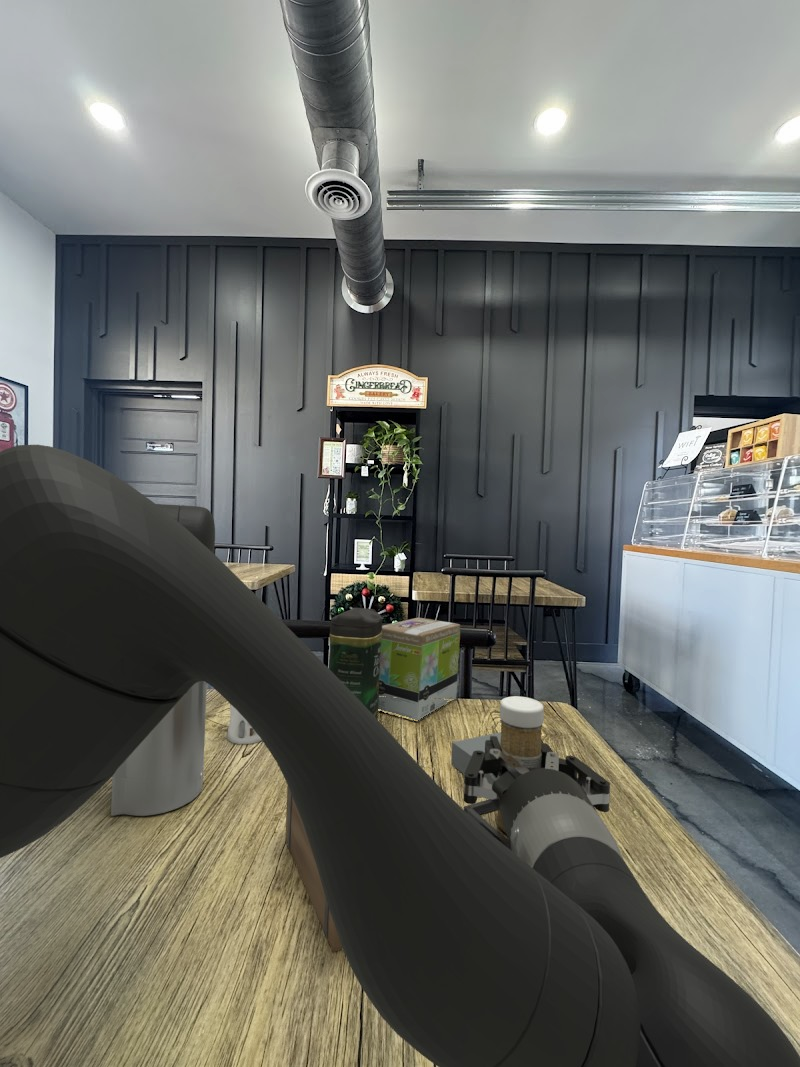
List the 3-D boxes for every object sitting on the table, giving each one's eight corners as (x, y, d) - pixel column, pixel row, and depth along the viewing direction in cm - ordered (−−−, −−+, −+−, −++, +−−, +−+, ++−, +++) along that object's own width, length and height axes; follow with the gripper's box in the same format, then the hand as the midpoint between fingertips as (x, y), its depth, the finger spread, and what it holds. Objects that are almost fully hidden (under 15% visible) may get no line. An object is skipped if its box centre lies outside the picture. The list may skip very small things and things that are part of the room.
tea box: (419, 724, 77) (423, 634, 77) (369, 710, 83) (372, 626, 83) (458, 699, 90) (461, 621, 90) (412, 688, 95) (415, 615, 96)
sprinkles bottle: (528, 813, 53) (532, 694, 54) (547, 839, 49) (552, 709, 49) (489, 815, 53) (494, 695, 53) (505, 842, 48) (510, 710, 48)
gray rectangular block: (493, 798, 56) (494, 772, 56) (451, 764, 64) (452, 742, 64) (549, 782, 61) (550, 758, 61) (503, 752, 68) (503, 731, 68)
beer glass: (226, 749, 66) (231, 641, 66) (220, 730, 72) (224, 631, 72) (276, 741, 69) (281, 638, 69) (266, 723, 75) (270, 629, 75)
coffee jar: (369, 739, 71) (374, 615, 71) (318, 733, 72) (323, 612, 72) (383, 715, 80) (387, 606, 80) (338, 710, 82) (343, 603, 82)
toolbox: (331, 956, 34) (336, 834, 34) (281, 838, 47) (285, 750, 47) (431, 916, 38) (435, 807, 38) (360, 818, 51) (364, 736, 51)
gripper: (465, 886, 37) (450, 774, 54) (652, 899, 36) (577, 782, 53) (469, 789, 37) (453, 708, 54) (656, 801, 36) (580, 715, 53)
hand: (515, 745), depth 54 cm, fingers closed on sprinkles bottle, 4 cm apart
